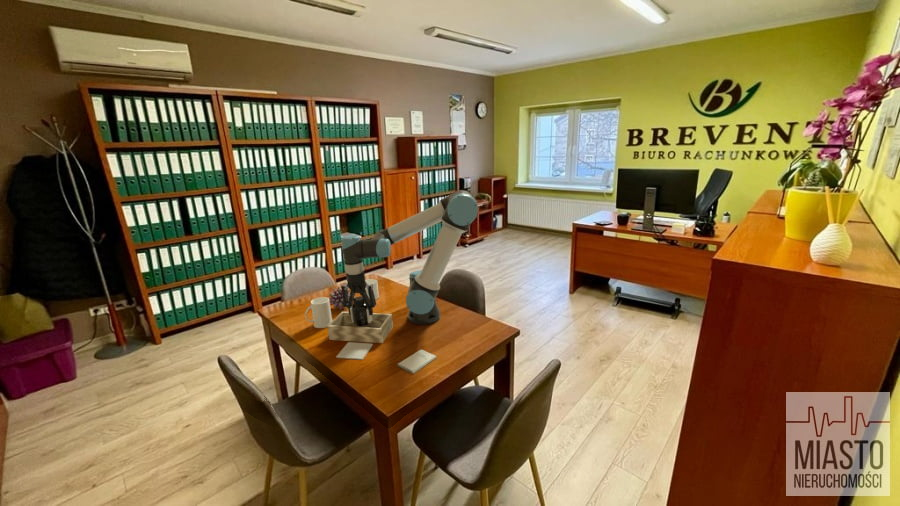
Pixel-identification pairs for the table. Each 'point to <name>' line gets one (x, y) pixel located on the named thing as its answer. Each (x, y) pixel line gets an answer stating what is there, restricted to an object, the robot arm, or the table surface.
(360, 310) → the supplement bottle
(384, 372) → the table surface
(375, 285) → the mug
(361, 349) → the pad
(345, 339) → the crate
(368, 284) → the robot arm
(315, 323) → the mug
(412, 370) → the external hard drive
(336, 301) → the purple spiky ball
